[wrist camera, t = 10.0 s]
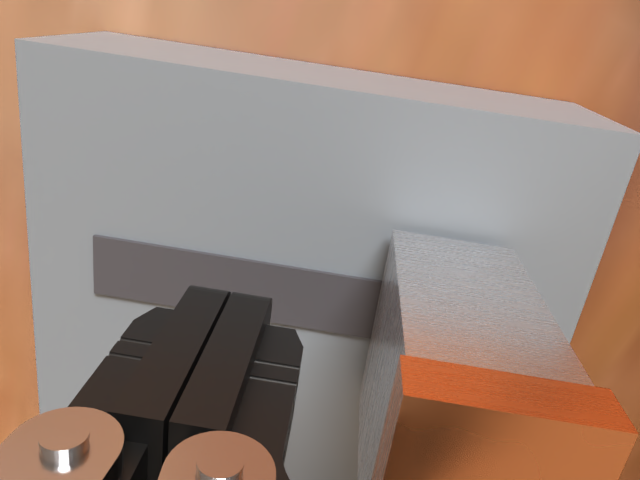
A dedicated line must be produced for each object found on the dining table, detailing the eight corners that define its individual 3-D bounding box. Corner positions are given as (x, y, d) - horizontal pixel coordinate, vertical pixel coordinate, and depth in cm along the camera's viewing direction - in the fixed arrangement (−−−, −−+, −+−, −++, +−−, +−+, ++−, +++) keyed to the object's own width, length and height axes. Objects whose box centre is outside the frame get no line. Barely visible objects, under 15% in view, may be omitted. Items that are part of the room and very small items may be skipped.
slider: (519, 244, 11) (638, 434, 6) (468, 413, 13) (530, 671, 8) (388, 223, 11) (403, 394, 6) (354, 394, 13) (344, 639, 8)
